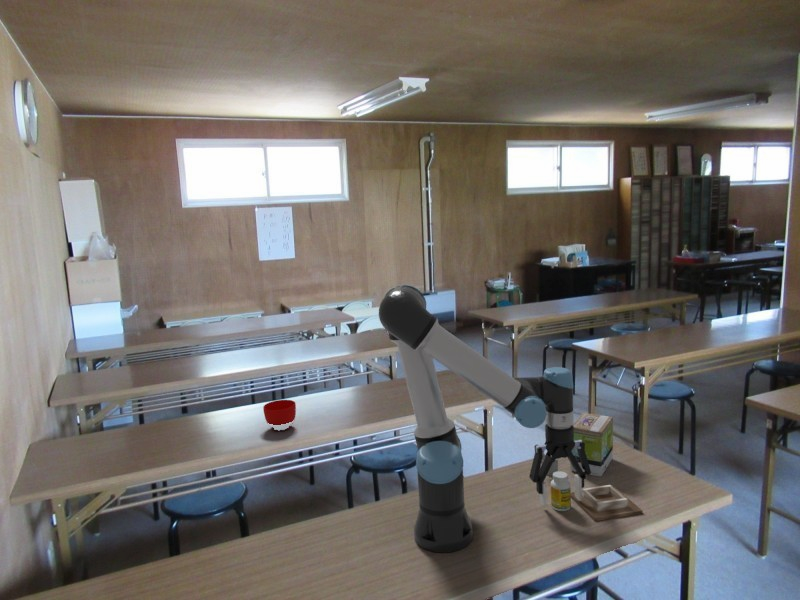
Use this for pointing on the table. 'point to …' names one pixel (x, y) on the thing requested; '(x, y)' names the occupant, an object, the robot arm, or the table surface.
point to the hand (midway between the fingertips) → (560, 501)
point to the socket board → (606, 503)
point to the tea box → (594, 441)
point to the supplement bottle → (560, 491)
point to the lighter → (552, 466)
